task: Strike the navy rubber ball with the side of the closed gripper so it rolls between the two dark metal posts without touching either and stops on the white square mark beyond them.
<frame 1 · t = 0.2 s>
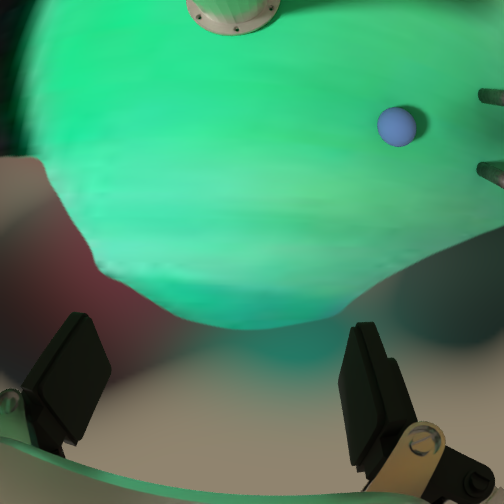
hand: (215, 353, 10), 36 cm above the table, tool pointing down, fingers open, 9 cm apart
post 2: (483, 95, 34), on the table
ball: (396, 126, 36), on the table
post 1: (481, 169, 40), on the table
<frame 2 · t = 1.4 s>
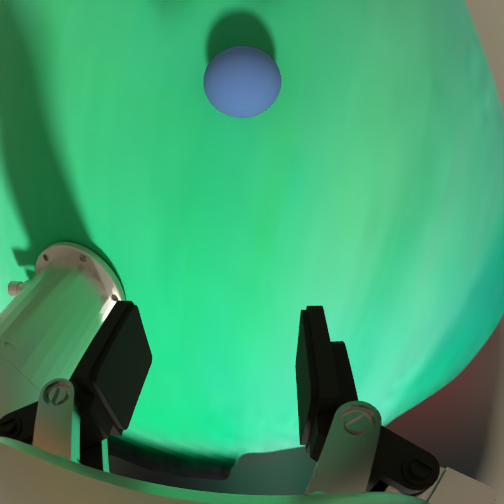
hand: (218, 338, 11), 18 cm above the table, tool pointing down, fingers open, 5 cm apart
ball: (242, 81, 20), on the table
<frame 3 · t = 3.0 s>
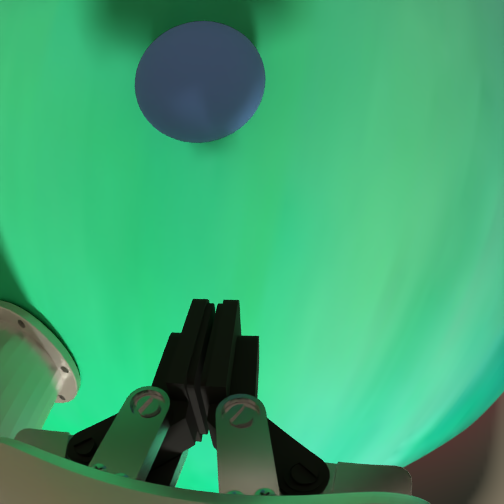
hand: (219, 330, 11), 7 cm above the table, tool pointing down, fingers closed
ball: (199, 81, 12), on the table
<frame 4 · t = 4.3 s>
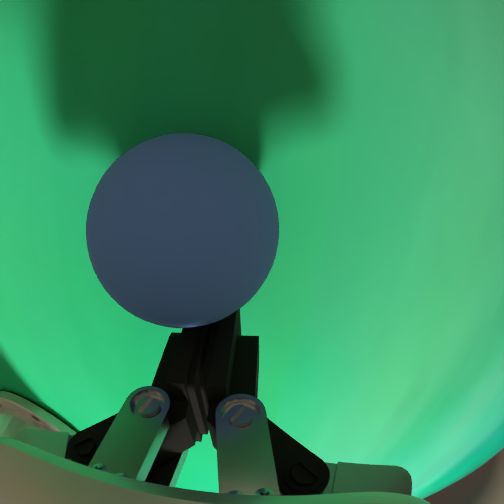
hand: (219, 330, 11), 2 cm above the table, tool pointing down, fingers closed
ball: (181, 230, 9), on the table
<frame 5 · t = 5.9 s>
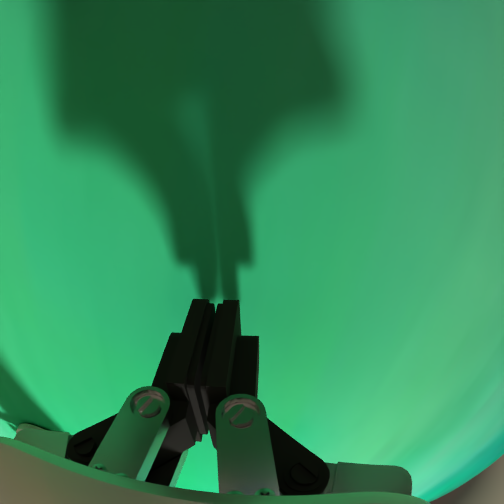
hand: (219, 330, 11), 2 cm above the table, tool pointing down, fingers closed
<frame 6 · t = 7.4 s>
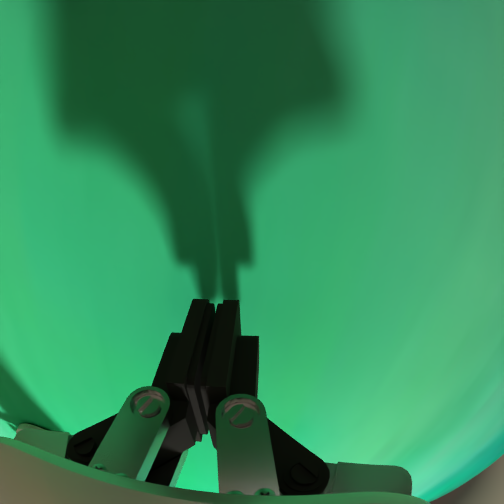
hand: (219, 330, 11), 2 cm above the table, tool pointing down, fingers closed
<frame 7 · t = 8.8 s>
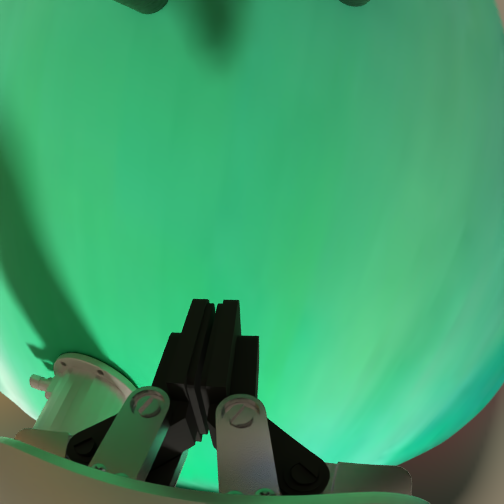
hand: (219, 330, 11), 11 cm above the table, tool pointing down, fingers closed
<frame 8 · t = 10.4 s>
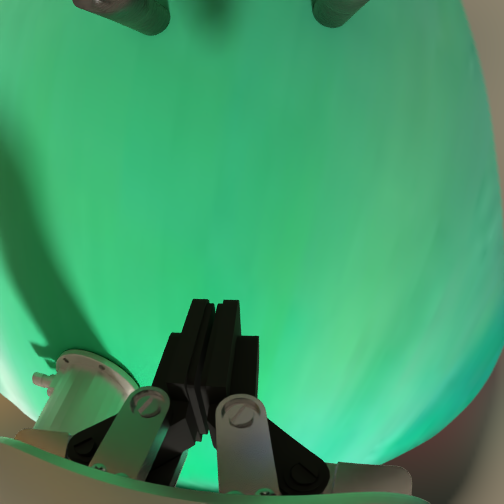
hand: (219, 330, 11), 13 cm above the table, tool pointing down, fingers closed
post 2: (153, 20, 17), on the table
post 1: (330, 12, 16), on the table
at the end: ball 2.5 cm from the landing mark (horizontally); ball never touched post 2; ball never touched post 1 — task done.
